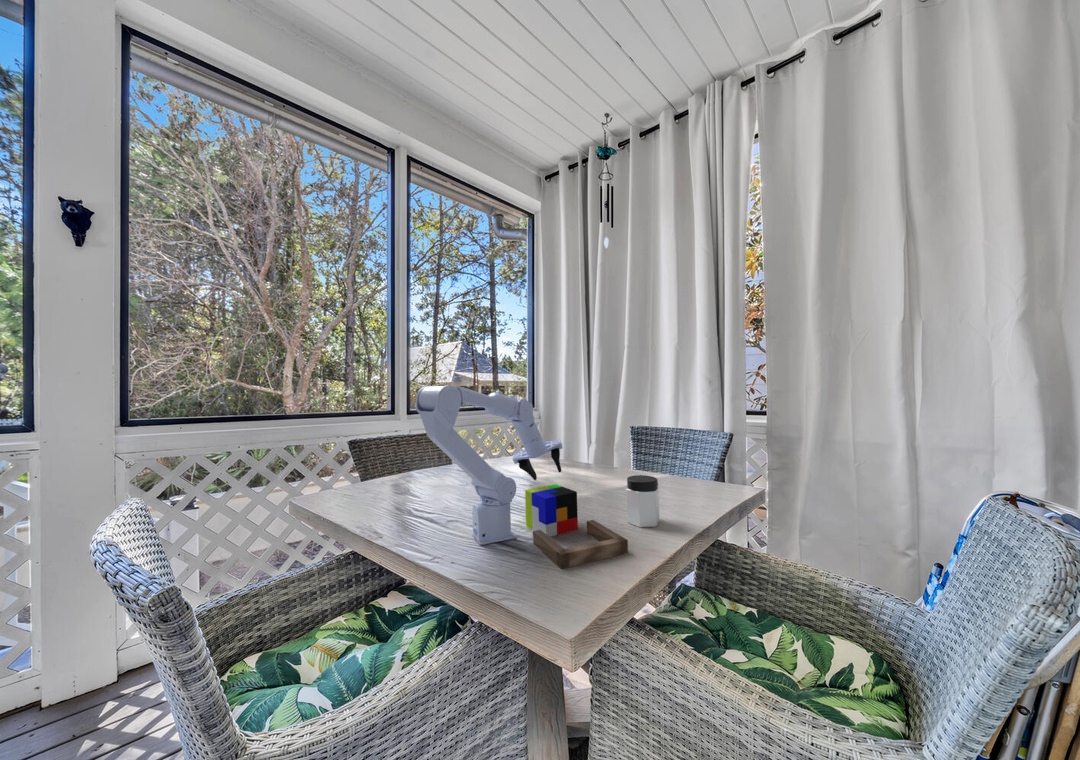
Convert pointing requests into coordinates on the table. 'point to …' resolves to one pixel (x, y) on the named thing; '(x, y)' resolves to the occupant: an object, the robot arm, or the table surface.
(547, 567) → the table surface
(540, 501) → the puzzle toy
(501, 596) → the table surface
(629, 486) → the jar
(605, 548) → the walnut frame
